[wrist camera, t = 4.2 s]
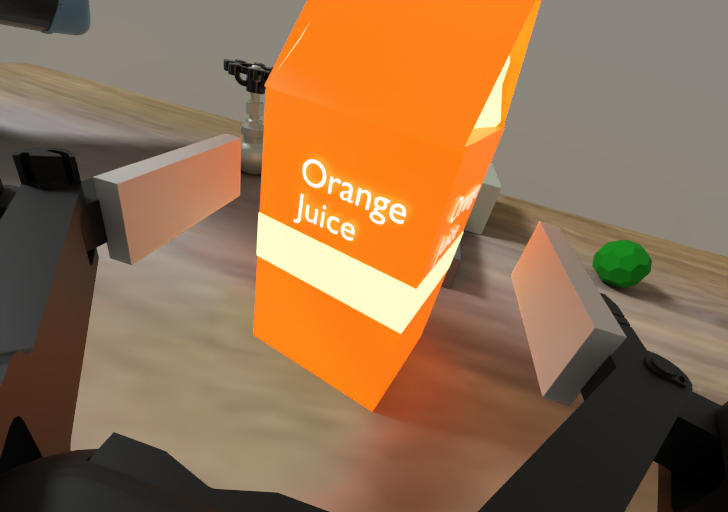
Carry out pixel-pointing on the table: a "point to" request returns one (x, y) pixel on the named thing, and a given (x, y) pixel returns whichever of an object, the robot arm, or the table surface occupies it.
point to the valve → (251, 112)
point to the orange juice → (375, 173)
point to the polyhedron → (622, 263)
